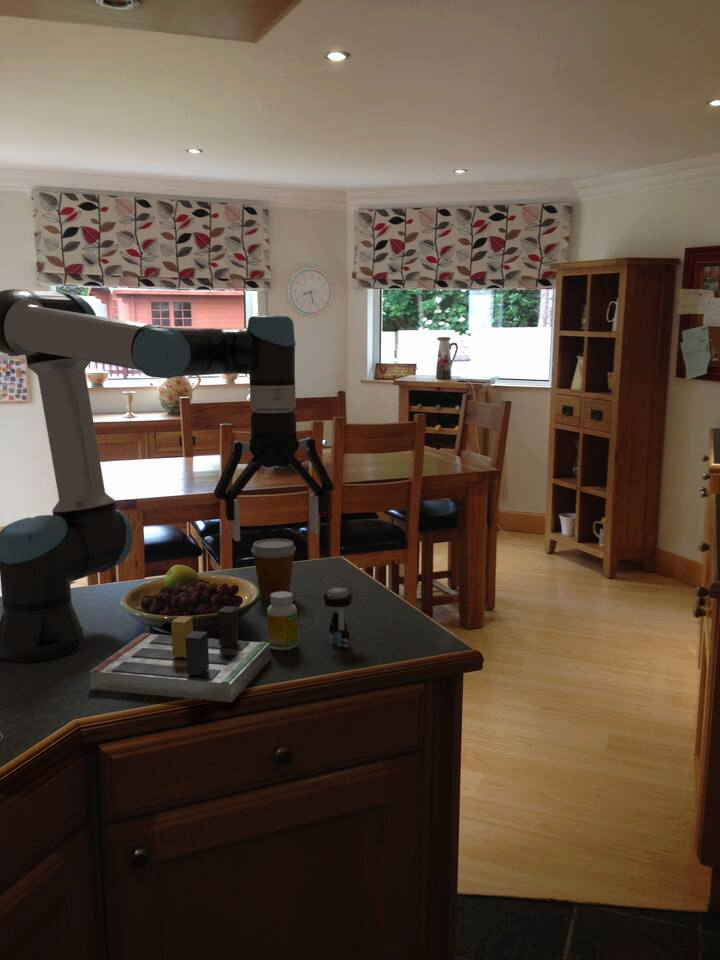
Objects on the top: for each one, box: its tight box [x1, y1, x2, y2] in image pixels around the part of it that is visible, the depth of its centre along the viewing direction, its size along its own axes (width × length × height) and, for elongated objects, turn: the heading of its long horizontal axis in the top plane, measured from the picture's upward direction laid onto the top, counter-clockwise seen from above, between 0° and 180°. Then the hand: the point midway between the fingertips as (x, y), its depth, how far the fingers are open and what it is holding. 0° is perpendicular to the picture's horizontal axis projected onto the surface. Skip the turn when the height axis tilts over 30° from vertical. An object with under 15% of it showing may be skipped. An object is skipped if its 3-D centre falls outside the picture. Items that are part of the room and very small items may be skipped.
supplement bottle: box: [266, 591, 298, 651], centre depth 153 cm, size 5×5×10 cm
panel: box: [89, 605, 271, 703], centre depth 140 cm, size 24×18×10 cm
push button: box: [322, 587, 354, 648], centre depth 154 cm, size 7×5×10 cm
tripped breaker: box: [170, 615, 194, 658], centre depth 140 cm, size 2×3×6 cm
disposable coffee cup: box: [250, 538, 297, 602], centre depth 182 cm, size 10×10×12 cm
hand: (275, 536), depth 143 cm, fingers open, 13 cm apart
